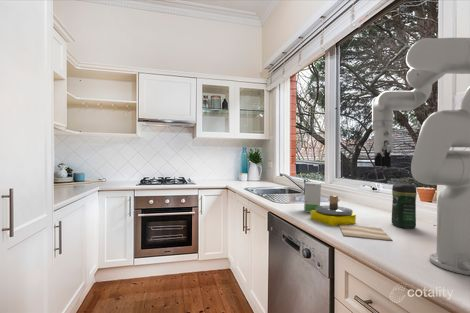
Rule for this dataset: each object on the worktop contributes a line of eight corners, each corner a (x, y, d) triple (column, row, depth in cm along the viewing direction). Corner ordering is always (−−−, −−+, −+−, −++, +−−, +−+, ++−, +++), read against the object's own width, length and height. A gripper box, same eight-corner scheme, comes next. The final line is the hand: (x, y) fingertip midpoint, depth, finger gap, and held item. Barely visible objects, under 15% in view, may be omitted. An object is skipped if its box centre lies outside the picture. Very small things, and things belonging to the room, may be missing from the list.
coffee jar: (419, 229, 105) (420, 185, 105) (398, 228, 106) (399, 184, 106) (407, 223, 114) (408, 182, 115) (388, 222, 116) (389, 182, 116)
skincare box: (303, 212, 135) (304, 182, 135) (304, 209, 141) (304, 181, 141) (320, 213, 132) (321, 183, 132) (320, 211, 139) (320, 182, 139)
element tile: (308, 219, 122) (309, 209, 122) (332, 216, 128) (333, 207, 128) (332, 227, 108) (332, 216, 108) (357, 224, 114) (357, 213, 114)
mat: (392, 241, 90) (392, 239, 90) (343, 236, 94) (343, 235, 94) (380, 228, 105) (380, 228, 105) (339, 225, 110) (339, 224, 110)
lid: (355, 216, 108) (355, 199, 108) (315, 213, 112) (316, 197, 112) (349, 209, 123) (350, 194, 123) (315, 207, 127) (315, 192, 127)
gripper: (400, 122, 97) (400, 167, 97) (385, 128, 114) (385, 166, 113) (378, 122, 99) (378, 166, 99) (367, 128, 116) (367, 166, 115)
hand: (382, 166), depth 106 cm, fingers open, 9 cm apart
